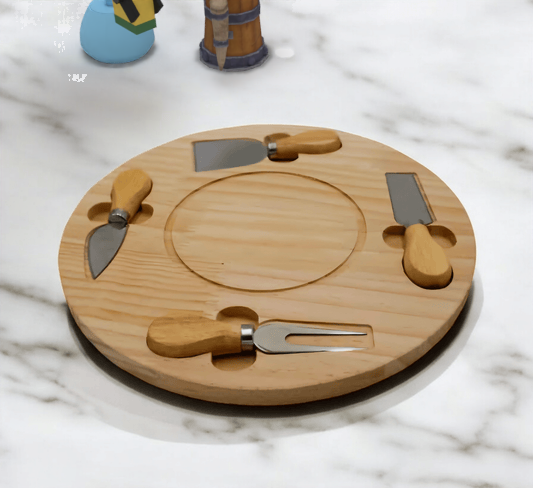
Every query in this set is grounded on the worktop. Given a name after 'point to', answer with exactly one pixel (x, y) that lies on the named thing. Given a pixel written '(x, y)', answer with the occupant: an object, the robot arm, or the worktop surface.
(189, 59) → the worktop surface
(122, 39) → the sugar bowl
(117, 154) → the worktop surface
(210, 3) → the mug
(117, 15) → the sponge
